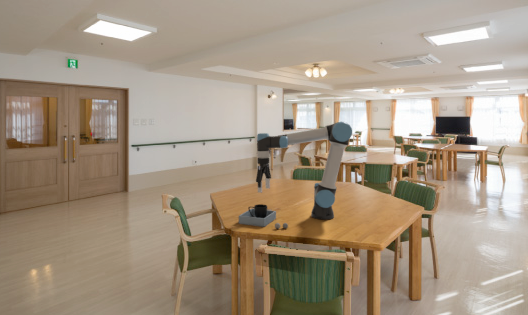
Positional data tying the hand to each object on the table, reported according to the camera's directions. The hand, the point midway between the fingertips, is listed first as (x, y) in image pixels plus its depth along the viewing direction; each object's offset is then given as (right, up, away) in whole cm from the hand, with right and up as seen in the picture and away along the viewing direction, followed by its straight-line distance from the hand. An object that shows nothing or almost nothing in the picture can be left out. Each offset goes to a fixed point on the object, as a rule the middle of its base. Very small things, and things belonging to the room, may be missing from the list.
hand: (264, 190), depth 210 cm
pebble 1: (+8, -21, -15) cm, 27 cm away
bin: (-4, -20, 0) cm, 20 cm away
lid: (0, -18, +19) cm, 26 cm away
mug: (-4, -19, -1) cm, 20 cm away
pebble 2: (+13, -21, -14) cm, 29 cm away
